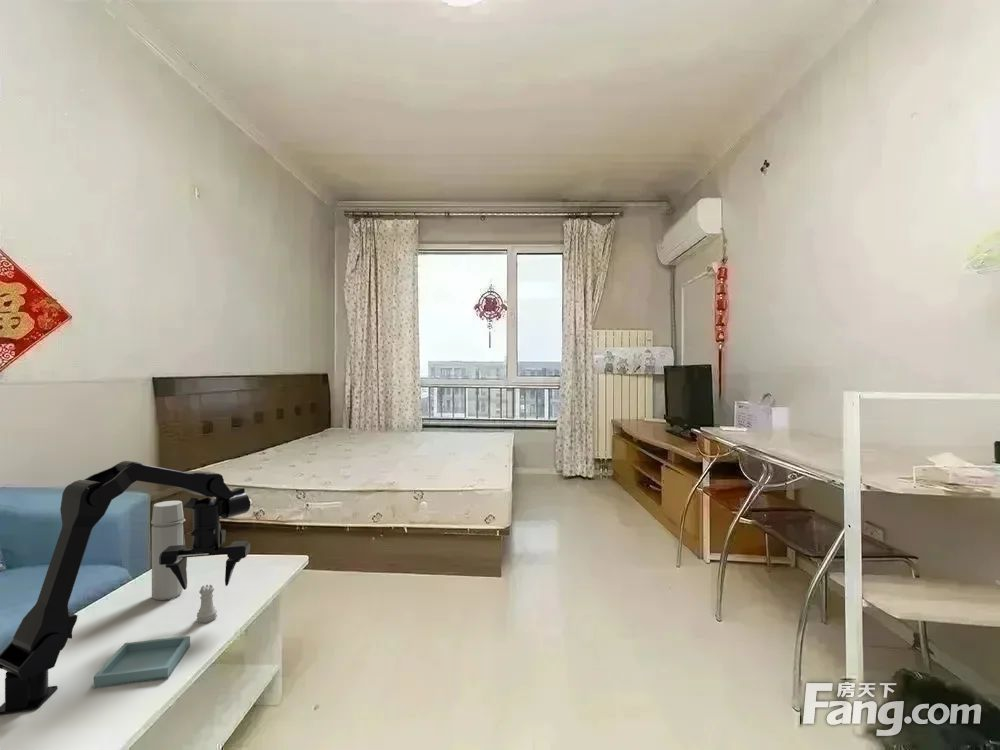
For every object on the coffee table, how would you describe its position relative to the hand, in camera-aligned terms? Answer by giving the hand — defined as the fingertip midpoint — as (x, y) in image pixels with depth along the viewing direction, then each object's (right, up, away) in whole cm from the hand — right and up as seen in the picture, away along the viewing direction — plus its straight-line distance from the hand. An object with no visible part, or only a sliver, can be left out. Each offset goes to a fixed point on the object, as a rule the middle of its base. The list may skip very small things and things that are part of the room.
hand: (206, 587), depth 125 cm
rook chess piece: (0, -8, 0) cm, 8 cm away
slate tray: (-1, -8, -20) cm, 21 cm away
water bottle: (-18, -8, +14) cm, 24 cm away
